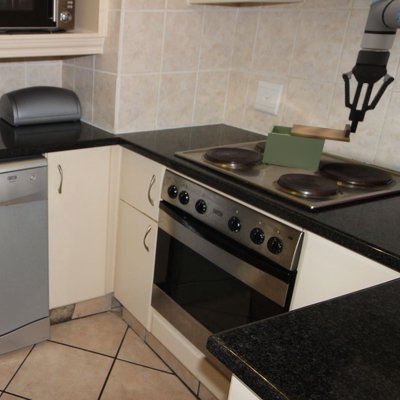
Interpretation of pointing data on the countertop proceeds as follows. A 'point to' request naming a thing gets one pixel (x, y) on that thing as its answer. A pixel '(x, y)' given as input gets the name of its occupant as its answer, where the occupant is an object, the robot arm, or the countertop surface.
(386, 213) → the countertop surface
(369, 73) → the robot arm
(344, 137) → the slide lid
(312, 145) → the caddy
